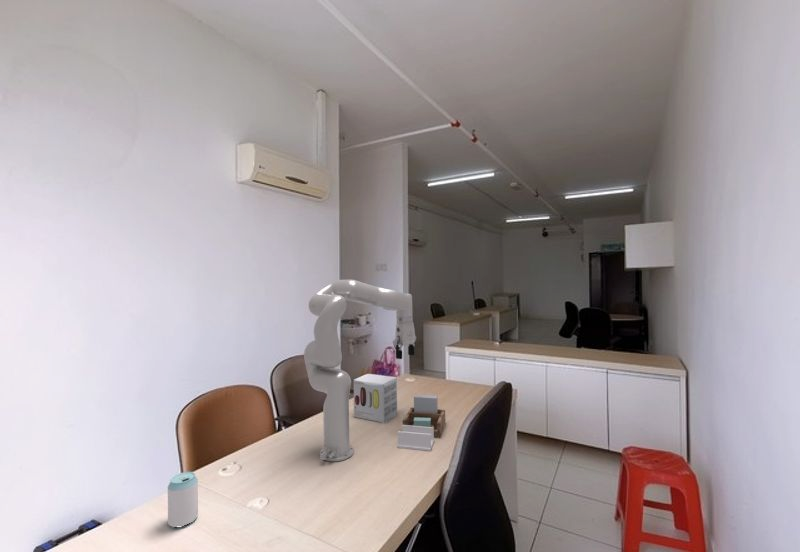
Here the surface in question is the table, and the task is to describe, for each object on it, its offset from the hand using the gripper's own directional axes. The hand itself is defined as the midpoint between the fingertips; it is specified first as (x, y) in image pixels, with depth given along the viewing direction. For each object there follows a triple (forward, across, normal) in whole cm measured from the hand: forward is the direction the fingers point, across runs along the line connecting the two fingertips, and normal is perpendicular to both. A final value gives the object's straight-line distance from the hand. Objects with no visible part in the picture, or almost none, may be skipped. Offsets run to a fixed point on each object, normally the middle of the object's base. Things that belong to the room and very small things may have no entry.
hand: (405, 356), depth 168 cm
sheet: (+29, 0, -11) cm, 31 cm away
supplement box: (+30, -4, +16) cm, 34 cm away
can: (+29, -93, +9) cm, 98 cm away
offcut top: (+27, -8, -14) cm, 31 cm away
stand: (+29, -18, -18) cm, 39 cm away
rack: (+29, -4, -12) cm, 32 cm away
